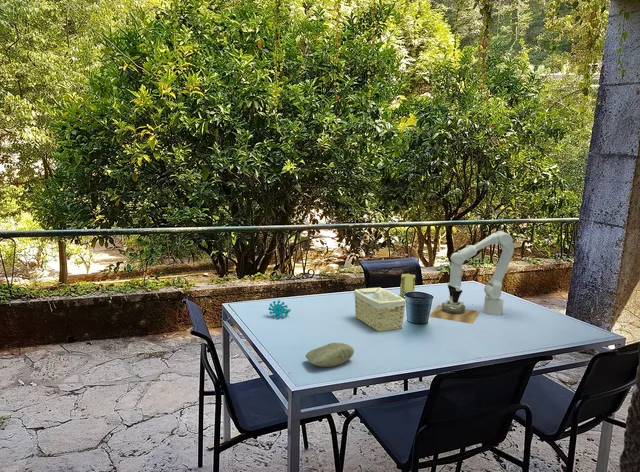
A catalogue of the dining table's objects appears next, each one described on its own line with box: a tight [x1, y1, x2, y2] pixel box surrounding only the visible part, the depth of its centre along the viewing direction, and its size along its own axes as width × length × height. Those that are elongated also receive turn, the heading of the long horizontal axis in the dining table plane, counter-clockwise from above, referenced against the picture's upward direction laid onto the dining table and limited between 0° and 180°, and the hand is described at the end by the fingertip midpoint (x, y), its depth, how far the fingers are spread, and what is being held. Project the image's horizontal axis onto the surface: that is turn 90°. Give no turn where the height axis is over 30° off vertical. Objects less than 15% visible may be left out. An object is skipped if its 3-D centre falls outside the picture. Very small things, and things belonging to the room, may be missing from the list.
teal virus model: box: [268, 299, 292, 320], centre depth 257 cm, size 11×6×10 cm
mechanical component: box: [399, 273, 416, 298], centre depth 298 cm, size 8×17×20 cm, turn 175°
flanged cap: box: [448, 295, 458, 305], centre depth 274 cm, size 5×5×4 cm
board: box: [428, 304, 482, 325], centre depth 270 cm, size 22×24×1 cm
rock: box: [304, 342, 355, 368], centre depth 201 cm, size 8×11×20 cm
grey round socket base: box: [441, 299, 466, 314], centre depth 274 cm, size 12×12×4 cm
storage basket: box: [353, 287, 407, 332], centre depth 252 cm, size 24×16×15 cm
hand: (453, 300), depth 274 cm, fingers open, 6 cm apart
